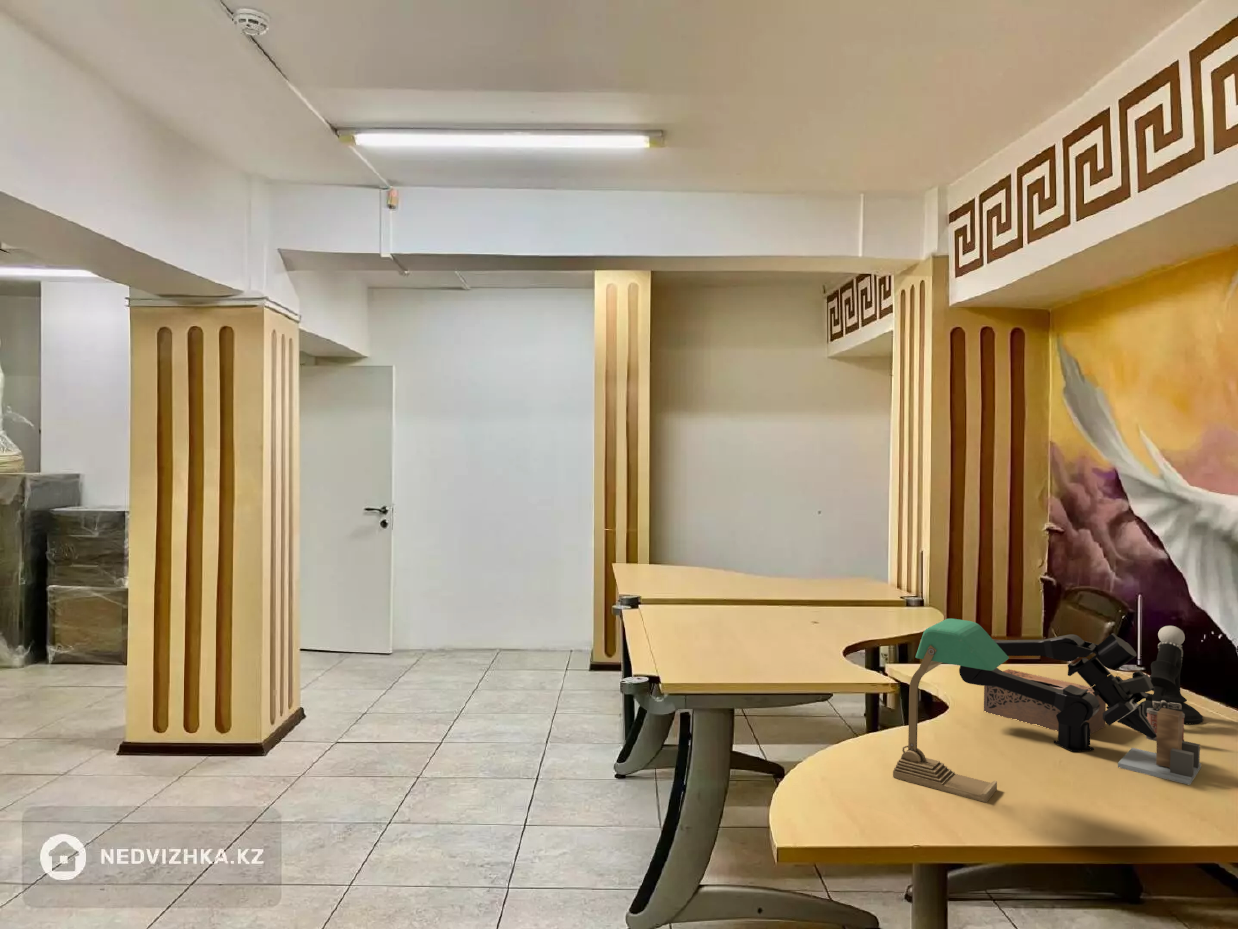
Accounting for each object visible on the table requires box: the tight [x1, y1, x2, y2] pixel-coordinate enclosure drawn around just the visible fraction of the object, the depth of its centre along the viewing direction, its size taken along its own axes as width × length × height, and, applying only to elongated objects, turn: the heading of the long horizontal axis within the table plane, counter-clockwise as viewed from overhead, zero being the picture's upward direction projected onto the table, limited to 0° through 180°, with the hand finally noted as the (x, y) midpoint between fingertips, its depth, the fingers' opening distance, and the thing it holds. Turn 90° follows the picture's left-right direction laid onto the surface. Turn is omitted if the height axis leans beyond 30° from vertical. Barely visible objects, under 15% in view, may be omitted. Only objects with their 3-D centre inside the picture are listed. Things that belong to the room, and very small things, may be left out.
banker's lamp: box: [892, 618, 1010, 803], centre depth 172 cm, size 16×21×35 cm
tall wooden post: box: [1155, 708, 1183, 768], centre depth 182 cm, size 4×5×12 cm
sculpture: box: [1137, 625, 1204, 725], centre depth 218 cm, size 15×24×25 cm, turn 134°
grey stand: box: [1117, 740, 1202, 786], centre depth 183 cm, size 14×14×6 cm
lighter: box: [1145, 700, 1185, 742], centre depth 201 cm, size 8×3×10 cm, turn 62°
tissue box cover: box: [983, 668, 1107, 735], centre depth 217 cm, size 26×14×10 cm, turn 39°
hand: (1154, 737), depth 184 cm, fingers closed
